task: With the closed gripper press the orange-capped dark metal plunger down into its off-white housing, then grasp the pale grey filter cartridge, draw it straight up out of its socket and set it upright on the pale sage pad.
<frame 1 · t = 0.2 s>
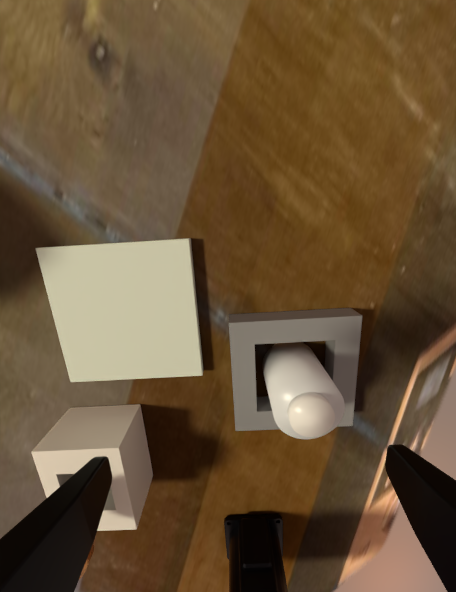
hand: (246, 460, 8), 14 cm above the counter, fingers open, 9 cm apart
plunger housing: (113, 442, 26), on the counter
cartridge: (298, 387, 20), in the socket
socket: (289, 365, 23), on the counter
dock pad: (129, 312, 22), on the counter
plunger: (74, 516, 19), point 7 cm above the counter, slide at 0.0 cm
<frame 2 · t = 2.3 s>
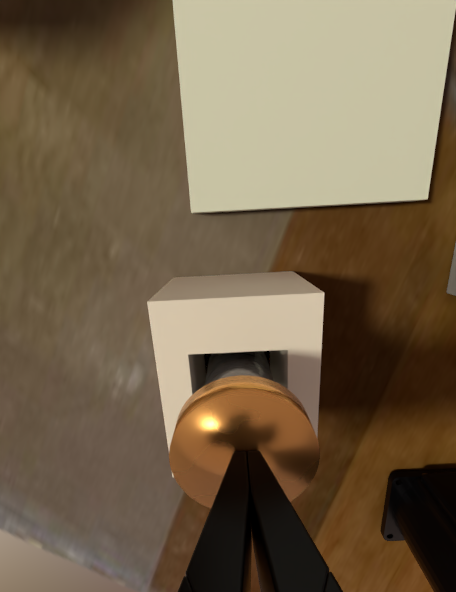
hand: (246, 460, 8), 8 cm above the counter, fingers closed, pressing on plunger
plunger housing: (236, 344, 16), on the counter
dock pad: (306, 76, 12), on the counter
plunger: (240, 401, 11), point 5 cm above the counter, slide at 1.3 cm, touching gripper
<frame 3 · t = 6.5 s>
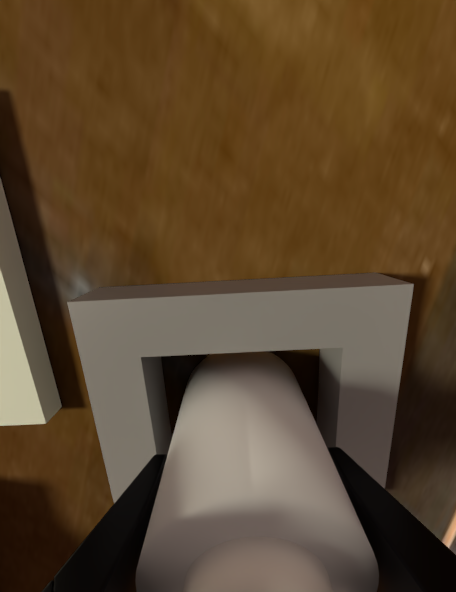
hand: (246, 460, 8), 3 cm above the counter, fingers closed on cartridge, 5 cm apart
cartridge: (247, 470, 8), in the socket, touching gripper
socket: (242, 398, 11), on the counter
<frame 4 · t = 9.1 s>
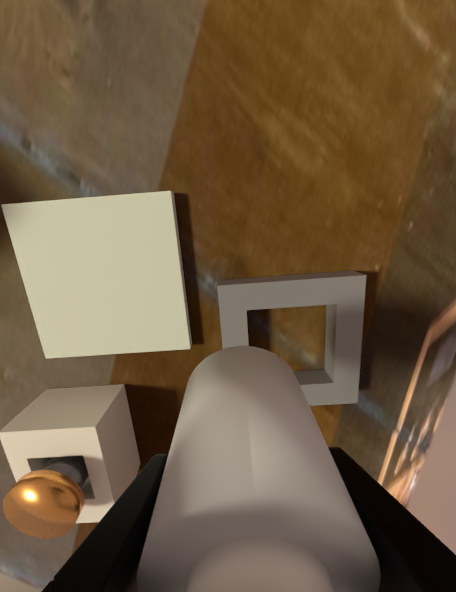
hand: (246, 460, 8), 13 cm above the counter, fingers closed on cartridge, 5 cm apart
plunger housing: (96, 428, 24), on the counter
cartridge: (248, 470, 8), point 14 cm above the counter, touching gripper
socket: (286, 337, 21), on the counter
dock pad: (108, 279, 20), on the counter
plunger: (65, 473, 19), point 5 cm above the counter, slide at 2.2 cm
when the fingers open (5 cm above the counter, at t = 11.7 s): cartridge drops 1 cm, resting on dock pad.
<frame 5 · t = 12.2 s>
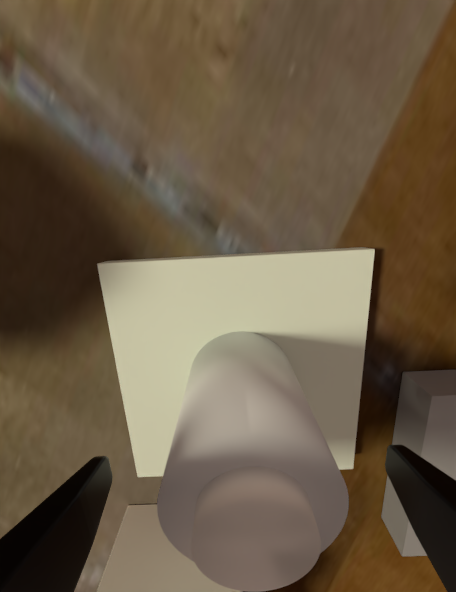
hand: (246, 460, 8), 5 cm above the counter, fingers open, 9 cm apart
plunger housing: (189, 552, 17), on the counter
cartridge: (245, 432, 9), on the dock pad, point 4 cm above the counter
dock pad: (239, 367, 13), on the counter
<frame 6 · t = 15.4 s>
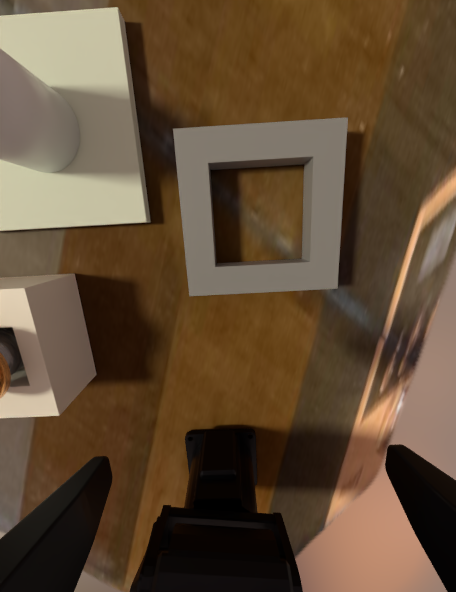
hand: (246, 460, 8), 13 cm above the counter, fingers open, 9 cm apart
plunger housing: (44, 328, 21), on the counter
socket: (258, 216, 18), on the counter
dock pad: (52, 136, 17), on the counter
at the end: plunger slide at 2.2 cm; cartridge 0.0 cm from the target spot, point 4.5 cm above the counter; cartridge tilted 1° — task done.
